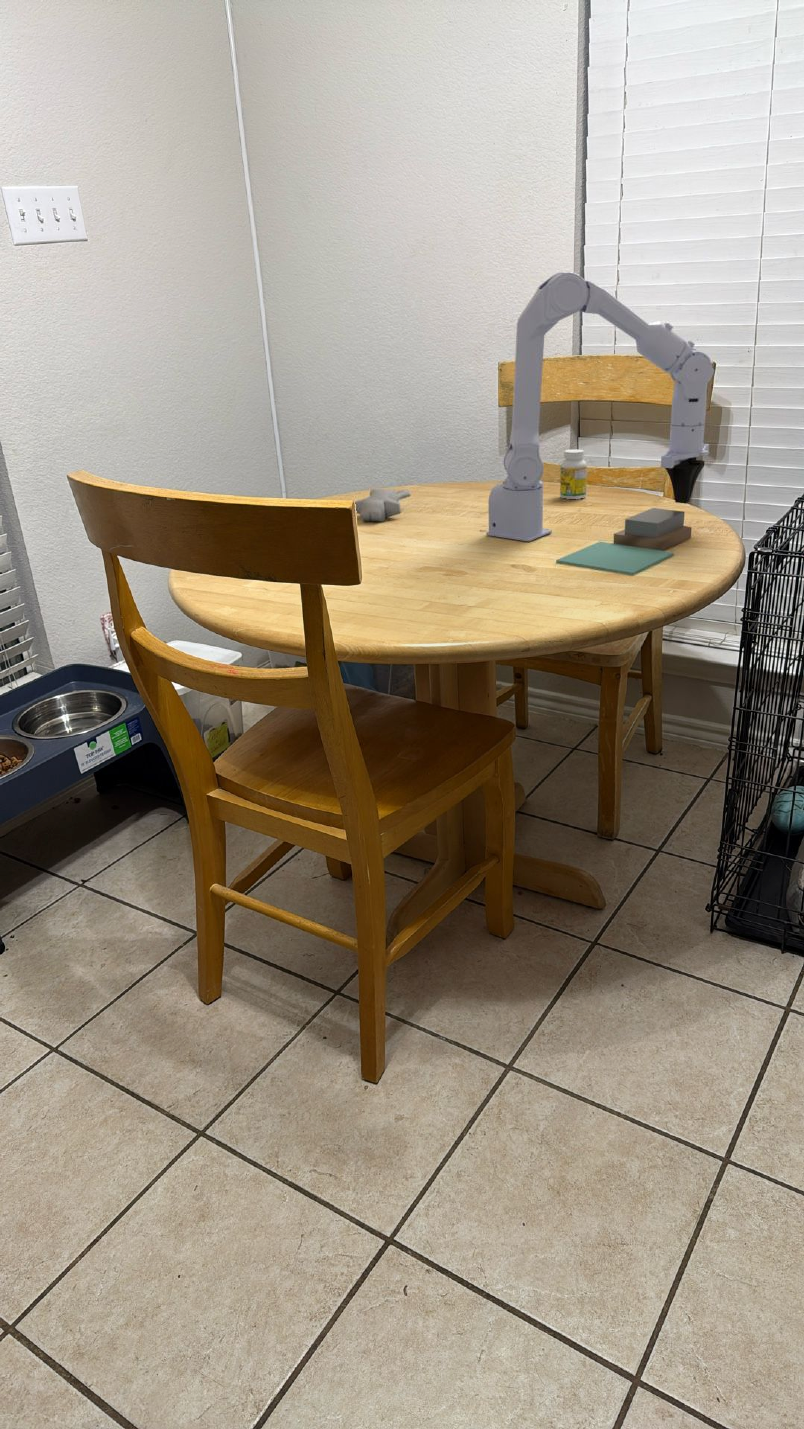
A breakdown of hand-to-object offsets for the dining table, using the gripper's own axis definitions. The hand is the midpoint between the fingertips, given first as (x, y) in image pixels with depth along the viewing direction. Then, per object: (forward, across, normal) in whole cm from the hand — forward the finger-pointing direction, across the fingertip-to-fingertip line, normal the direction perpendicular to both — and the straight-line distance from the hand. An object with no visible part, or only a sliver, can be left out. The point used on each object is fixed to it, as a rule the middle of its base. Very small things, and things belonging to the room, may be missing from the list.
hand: (682, 502), depth 174 cm
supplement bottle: (+5, +14, +31) cm, 34 cm away
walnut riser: (+5, -11, 0) cm, 12 cm away
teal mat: (+5, -23, 0) cm, 24 cm away
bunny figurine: (+5, -19, +56) cm, 59 cm away
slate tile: (+3, -10, 0) cm, 10 cm away
